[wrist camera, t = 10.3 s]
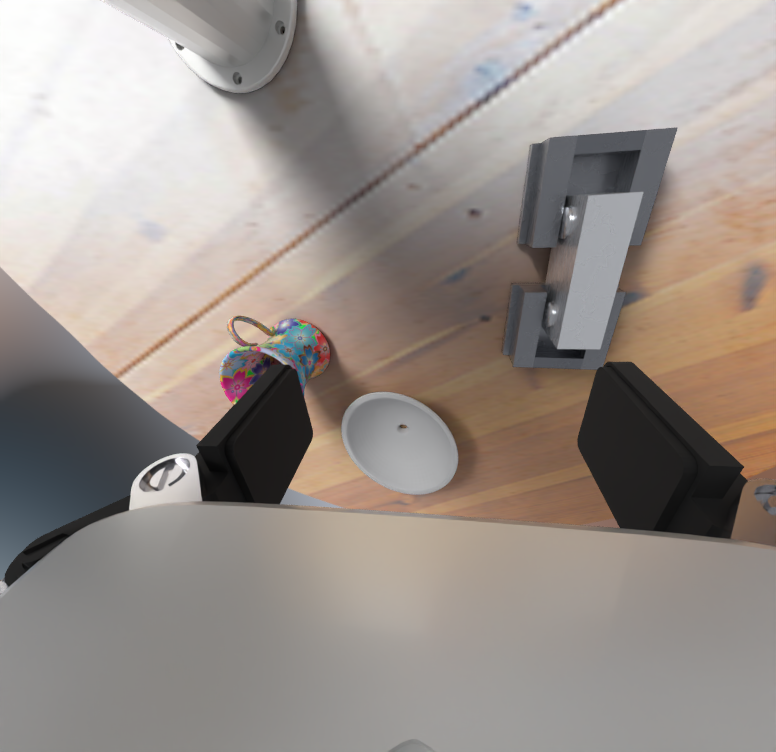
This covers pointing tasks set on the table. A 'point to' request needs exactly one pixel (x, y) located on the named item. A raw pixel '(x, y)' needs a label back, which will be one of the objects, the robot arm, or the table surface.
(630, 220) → the gray trapezoid plate
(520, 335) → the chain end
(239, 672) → the robot arm
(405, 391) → the table surface
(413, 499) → the table surface
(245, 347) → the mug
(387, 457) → the dish
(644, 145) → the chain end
